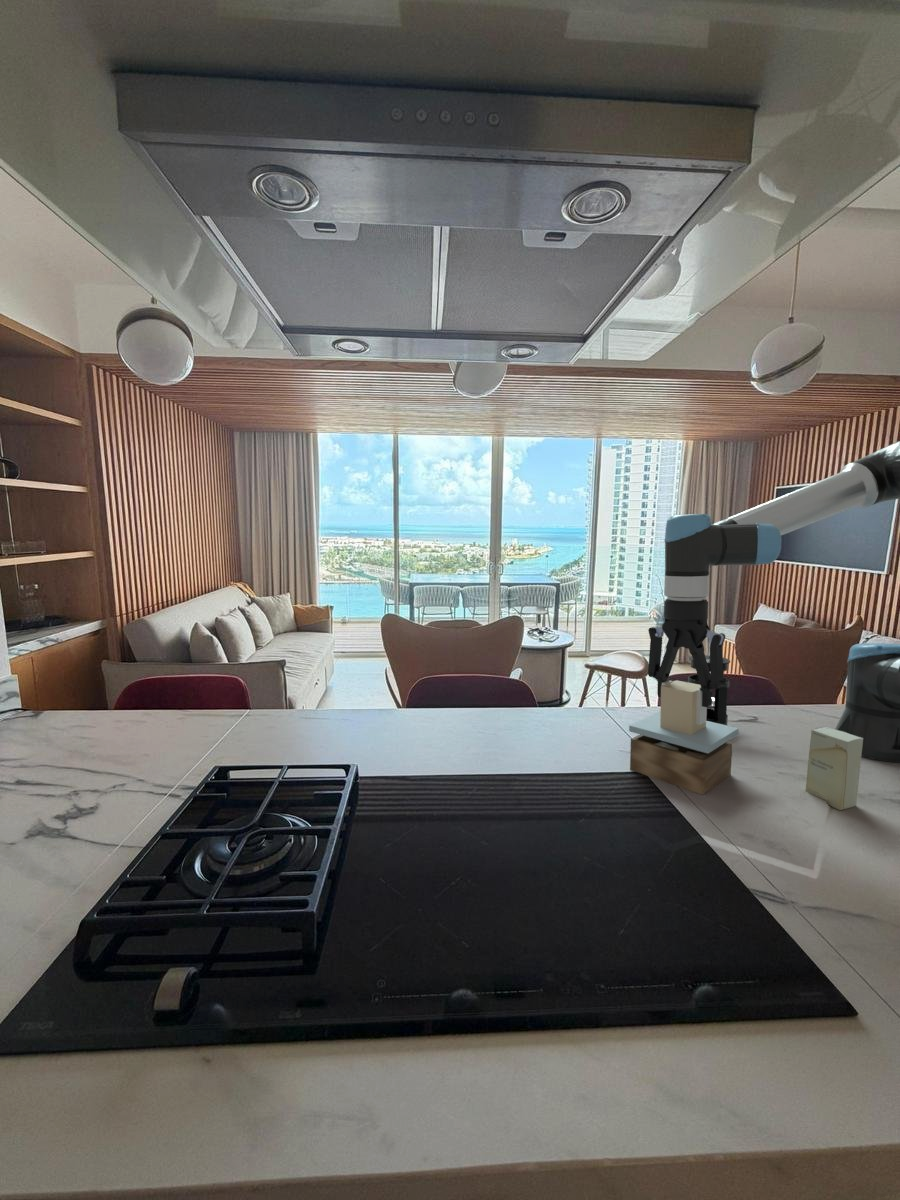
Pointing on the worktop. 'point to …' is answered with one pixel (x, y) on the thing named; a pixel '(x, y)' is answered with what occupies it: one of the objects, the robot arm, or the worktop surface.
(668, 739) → the lid
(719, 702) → the french press
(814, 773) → the skincare box
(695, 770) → the box
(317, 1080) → the worktop surface
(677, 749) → the cube cream
